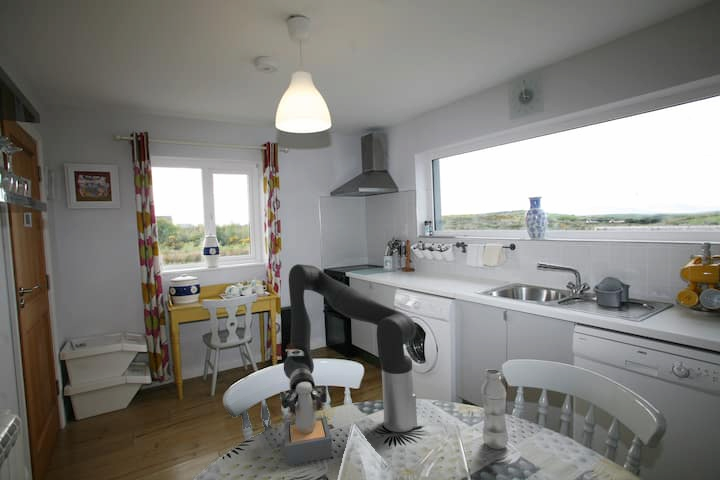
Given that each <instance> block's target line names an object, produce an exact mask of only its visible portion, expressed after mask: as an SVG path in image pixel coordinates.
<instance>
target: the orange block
mask: <svg viewBox="0 0 720 480" xmlns="http://www.w3.org/2000/svg"><path fill="white" fill-rule="evenodd" d="M322 437H325V433H324V429H323V425H322V421H321V420H318V421H317V422H316V425H315V427H314V430H313V432H311V433H309V434H301V433H300V432H299V430H298V428H297V427H296V424H293V425H290V438H291V443H292V442H298V441H304V440H310V439H316V438H322Z"/></svg>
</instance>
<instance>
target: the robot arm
mask: <svg viewBox="0 0 720 480" xmlns="http://www.w3.org/2000/svg"><path fill="white" fill-rule="evenodd" d="M288 288H289V289H288V291H289V301H290V314H291V324H290V325H291V328H290V340H289V341H290V342H289V344H290V347H291V348H292V349H294V350H299V351H301V352H303V355H288V356H287V357H286V358H284V359H285V360H284V362H283V372H284V375H285V376H286V377H287V379H288V380H289V392H288V393H286V392H284V391H280V392H279V396H280V397H279V399H280V403H281V406H282V408H283V409H285V410H286V409H288V408H289V412H290V413H292V415H295V414H296V412H297V411H296V407H297V404H298V396H299V394H298V393H297V391H296V386H297V385H298V384H299V383H301V382H309V383H311V385H312V391H311V392H310V394H311V399H312V403H313V404H315V409H316V411H320V410H321V409H322V408H323V407H322V406H323V405H322V404H325V403H326V404H327V401H328V400H327V398H328V392H327V385H322V387H321V388H318V387H317V386H316V384H315V379H314V377H313V375H312V374H313V372H314V370H315V369H314V368H315V365H314V359H313V356H312V352H311V351H312V350H311V333H312V324H311V319H310V316H309V314H308V311H307V307H306V304H305V291H310V292H311V291H312V292H314V293H317V294H319V295H321V296H323V298H325V299H326V301H327V302H328V304H329V305H330V307H331V308H332V309H333V310H335V311H337V312H338V313H340V314H341V315H343V316H345V317H347V318H349V319H352V320H356V321H359V322H365V323H367V324H368V323H369V324H373V325H375V326H377V327H376V344H377V354H378V355H377V356H378V359H379V362H380V364H381V378H382V379H381V381H382V383H381V384H382V400H383V401H382V402H383V423H384V425H383V426H384V427H385V428H386V429H387V430H388V431H391V432H394V433H405V432H409V431H411V430H413V429H414V428H417V427H418V418H417V417H418V414H417V395H416V394H415V392H414V377H413V361H412V358H411V357H410V356H408V355H405V349H404V345H405V344H407V343H409V342H410V341H412V340H413V339H414V338H415V337H416V335H417V326H416V324H415V321H414V320H413V319H412V318H411V316H409V315H407V314H406V313H404V312H401V311H399V310H396V309H394V308H391V307H388V306H386V305H385V304H382V303H380V302H378V301H376V300H375V299H373V298H371V297H369V296H368V295H365V294H364V293H362V292H360V291H358V290H356V289H355V288H353V287H351V286H349V285H347V284H345V283H343V282H340V281H339V280H336V279H334V278H332V276H329V275H328V274H327V273H325V272H324V271H323V270H321V269H319V268H318V267H316V266H314V265H311V264H310V265H308V264H300V263H299V264H295V265H293V266H292V267H291V268H290V271H289V273H288Z"/></svg>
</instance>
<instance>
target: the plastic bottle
mask: <svg viewBox="0 0 720 480" xmlns="http://www.w3.org/2000/svg"><path fill="white" fill-rule="evenodd" d="M480 390H481V391H480V392H481V398H482V403H483V414H484V415H483V416H484V417H483V418H484V419H483V428H482V437H483V438H482V439H483V442H484V444H485V445H486V446H487V447H488V448H491V449H494V450H503V449H505V448H506V447H507V445H508V441H509V435H508V429H507V424H506V423H507V422H506V413H505V412H506V402H507V390H506V387H505V386H504V384H503V383H502V382H501V372H500V370H497V369H495V368H493V369H492V368H491V369H490V368H489V369H488V368H487V369H486V371H485V381H484V383H483V384H482V386H481V389H480Z"/></svg>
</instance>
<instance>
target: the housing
mask: <svg viewBox="0 0 720 480" xmlns="http://www.w3.org/2000/svg"><path fill="white" fill-rule="evenodd" d="M316 420H317V421H318V420H321V421H322V425H323V429H324V433H325V437H322V438H316V439H310V440H304V441H298V442H292V443H291V438H290V425H293V424H296V423H295V421H296V420H294V421H289V422H283V424H284V425H283V426H284V444H285V445H284V447H285V465H286V466H291V465H297V464H301V463H307V462H312V461H313V462H314V461H317V460H323V459H328V458H333V438H332V434H331V431H330V427H329V424H328V420H327V416H321V417H316Z"/></svg>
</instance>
